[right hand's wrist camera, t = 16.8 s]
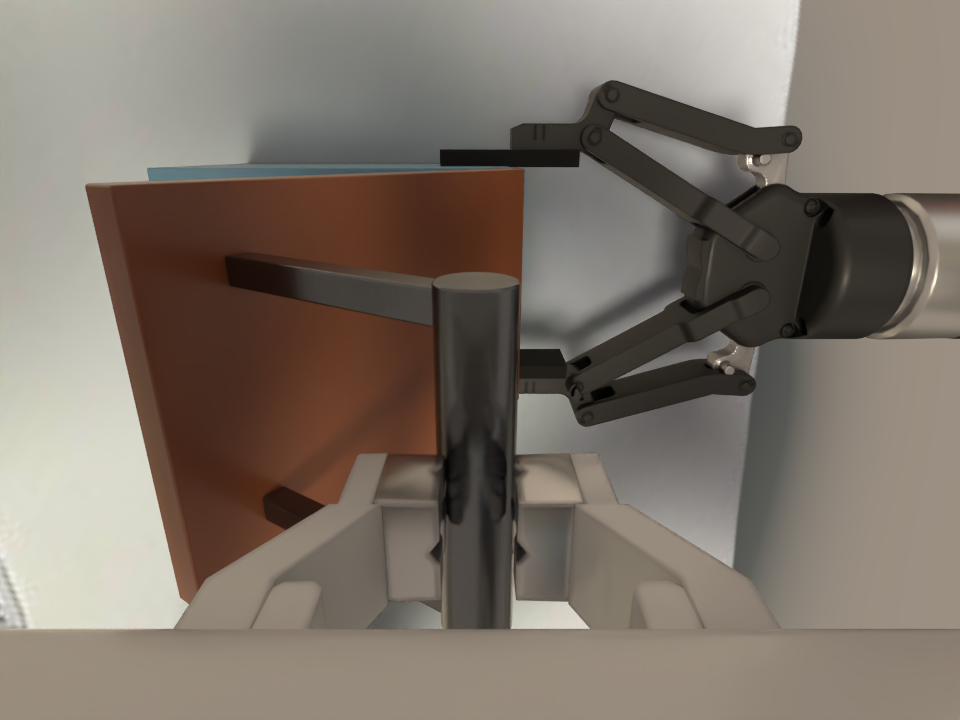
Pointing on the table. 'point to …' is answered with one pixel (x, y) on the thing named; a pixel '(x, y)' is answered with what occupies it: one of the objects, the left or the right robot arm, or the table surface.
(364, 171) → the chest
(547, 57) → the table surface
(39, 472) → the table surface
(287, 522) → the lid
